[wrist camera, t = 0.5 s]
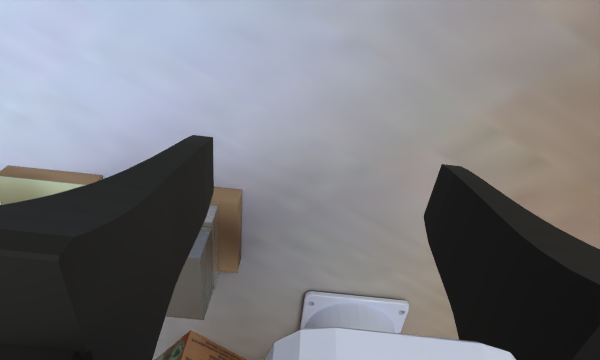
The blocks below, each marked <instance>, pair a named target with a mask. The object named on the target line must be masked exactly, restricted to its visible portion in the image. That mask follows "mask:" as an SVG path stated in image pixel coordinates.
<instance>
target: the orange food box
mask: <svg viewBox="0 0 600 360" xmlns="http://www.w3.org/2000/svg"><path fill="white" fill-rule="evenodd" d="M156 360H246V359H244V358H242V357H240V356H238V355H236V354H235V353H233V352H231V351H229V350H227V349H225V348H223V347H221V346H219V345H218V344H216V343H214V342H212V341H210V340H208V339H206V338H204V337H202V336H201V335H199V334H197V333H195V332H193V331H189V332H188V333H187V334H186V335H185V336H183V337H182V338H181V339H180V340H179V341H177V342H176V343H175V344H174V345H173V346H171V347H170V348H169V349H168V350H167V351H166V352H164V353H163V354H162V355H161V356H160V357H158V358H157V359H156Z"/></svg>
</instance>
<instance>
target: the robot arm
mask: <svg viewBox="0 0 600 360" xmlns="http://www.w3.org/2000/svg"><path fill="white" fill-rule="evenodd" d="M213 193H214V181H213V137H205V136H197V135H192V136H190V137H188V138H186V139H184V140H182V141H181V142H179V143H177V144H175V145H173V146H172V147H170V148H168V149H166V150H164V151H163V152H161V153H159V154H157V155H155V156H154V157H152V158H150V159H148V160H146V161H143V162H141V163H139V164H137V165H135V166H133V167H131V168H129V169H127V170H125V171H122V172H120V173H118V174H115V175H113V176H110V177H108V178H105V179H102V180H99V181H97V182H94V183H91V184H88V185H84V186H81V187H78V188H74V189H71V190H67V191H64V192H60V193H57V194H53V195H48V196H44V197H40V198H35V199H30V200H25V201H20V202H15V203H10V204H4V205H0V360H152V358H153V355H154V352H155V348H156V345H157V341H158V338H159V335H160V332H161V329H162V325H163V322H164V319H165V316H166V313H167V310H168V307H169V304H170V301H171V298H172V295H173V292H174V289H175V286H176V283H177V280H178V278H179V275H180V273H181V271H182V269H183V266H184V264H185V262H186V260H187V258H188V256H189V254H190V251H191V249H192V247H193V245H194V243H195V241H196V239H197V236H198V234H199V232H200V230H201V228H202V226H203V223H204V221H205V219H206V216H207V213H208V210H209V207H210V203H211V200H212V196H213ZM424 221H425V227H426V233H427V237H428V242H429V245H430V248H431V251H432V254H433V257H434V260H435V263H436V266H437V268H438V271H439V274H440V277H441V279H442V282H443V285H444V288H445V290H446V293H447V296H448V299H449V302H450V305H451V308H452V311H453V315H454V319H455V323H456V327H457V332H458V336H459V340H456V339H447V338H437V337H428V336H419V335H410V334H400V332H401V329H402V326H403V324H404V321H405V318H406V316H407V313H408V310H409V304H408V302H407V301H404V300H395V299H385V298H375V297H365V296H354V295H344V294H334V293H324V292H314V291H309V292H307V293H306V294H305V298H304V305H303V312H302V318H301V325H300V330H299V331H297V332H295V333H293V334H290V335H288V336H286V337H284V338H282V339H280V340H278V341H276V342H274V344H273V346H272V348H271V349H270V351H269V353H268V354H267V356H266V358H265V360H600V249H598V248H595V247H593V246H591V245H589V244H587V243H585V242H583V241H581V240H579V239H577V238H575V237H573V236H571V235H569V234H568V233H566V232H564V231H562V230H560V229H558V228H556V227H554V226H553V225H551V224H549V223H548V222H546V221H544V220H542V219H541V218H539V217H538V216H536V215H534V214H533V213H531V212H530V211H528V210H526V209H525V208H523V207H522V206H520V205H519V204H517V203H516V202H514V201H513V200H511V199H510V198H508V197H507V196H505V195H504V194H503V193H501V192H500V191H498V190H497V189H495V188H494V187H493V186H491V185H490V184H488V183H487V182H485V181H484V180H482V179H481V178H480V177H478V176H477V175H475V174H474V173H472V172H470V171H469V170H467V169H465V168H463V167H461V166H453V165H444V164H442V165H441V168H440V171H439V174H438V177H437V180H436V182H435V185H434V188H433V191H432V194H431V197H430V199H429V202H428V205H427V208H426V211H425V214H424Z"/></svg>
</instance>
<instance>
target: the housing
mask: <svg viewBox="0 0 600 360" xmlns="http://www.w3.org/2000/svg"><path fill="white" fill-rule="evenodd" d="M219 271H220V246H219V204H211V203H210V207H209V210H208V213H207V216H206V219H205V221H204V223H203V226H202V228H201V230H200V232H199V234H198V236H197V239H196V241H195V243H194V245H193V247H192V249H191V251H190V254H189V256H188V258H187V260H186V262H185V264H184V266H183V269H182V271H181V273H180V275H179V278H178V280H177V283H176V286H175V289H174V292H173V295H172V298H171V301H170V304H169V307H168V310H167V313H166V316H167V317H178V318H188V319H198V320H204V318H205V314H206V311H207V308H208V304H209V301H210V298H211V294H212V291H213V289H214V288H215V285H216V281H217V278H218V274H219Z"/></svg>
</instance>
